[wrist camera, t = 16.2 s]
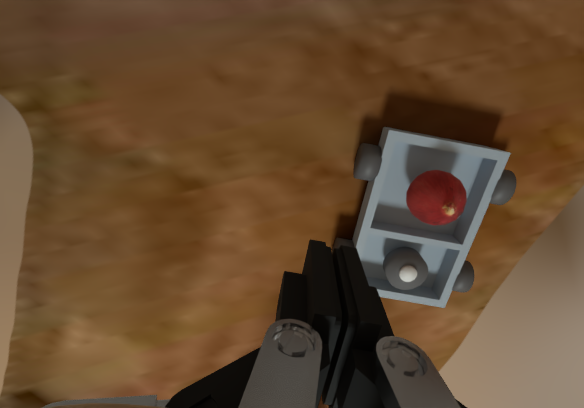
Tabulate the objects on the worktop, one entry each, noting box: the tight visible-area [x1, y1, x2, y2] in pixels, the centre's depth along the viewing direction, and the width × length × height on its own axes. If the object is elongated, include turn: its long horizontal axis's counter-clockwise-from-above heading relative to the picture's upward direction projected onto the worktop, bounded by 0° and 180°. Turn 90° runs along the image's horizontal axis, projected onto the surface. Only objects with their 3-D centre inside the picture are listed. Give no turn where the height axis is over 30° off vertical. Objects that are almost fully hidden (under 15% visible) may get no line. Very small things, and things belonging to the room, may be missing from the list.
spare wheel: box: [383, 247, 428, 290], centre depth 38 cm, size 5×5×2 cm
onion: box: [406, 170, 467, 225], centre depth 33 cm, size 6×6×8 cm
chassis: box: [332, 127, 516, 308], centre depth 37 cm, size 20×17×4 cm
